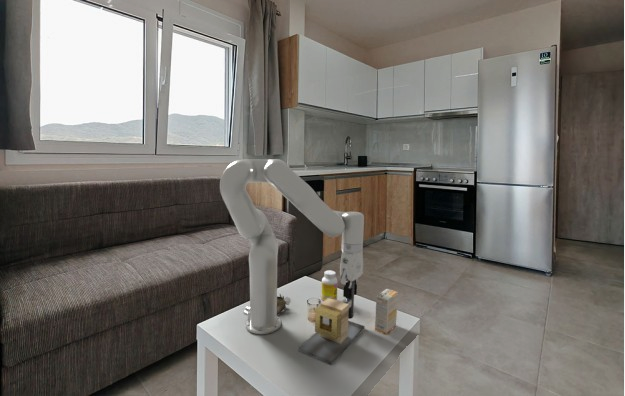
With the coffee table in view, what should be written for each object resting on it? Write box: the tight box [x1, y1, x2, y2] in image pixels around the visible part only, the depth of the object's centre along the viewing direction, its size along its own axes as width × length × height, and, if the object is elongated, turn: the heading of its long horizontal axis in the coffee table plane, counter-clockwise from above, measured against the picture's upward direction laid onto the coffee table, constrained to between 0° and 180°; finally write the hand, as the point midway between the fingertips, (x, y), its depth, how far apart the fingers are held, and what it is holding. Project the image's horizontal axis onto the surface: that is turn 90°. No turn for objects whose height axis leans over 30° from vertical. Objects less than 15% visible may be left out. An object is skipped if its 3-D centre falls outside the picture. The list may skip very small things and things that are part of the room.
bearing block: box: [298, 298, 365, 365], centre depth 108 cm, size 12×24×13 cm, turn 148°
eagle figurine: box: [277, 293, 292, 316], centre depth 127 cm, size 8×7×9 cm
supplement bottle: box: [320, 269, 339, 303], centre depth 135 cm, size 7×7×13 cm
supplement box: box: [374, 288, 399, 335], centre depth 116 cm, size 8×5×13 cm, turn 141°
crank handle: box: [323, 280, 355, 325], centre depth 110 cm, size 3×18×14 cm, turn 148°
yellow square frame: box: [314, 304, 342, 340], centre depth 104 cm, size 8×3×8 cm, turn 58°
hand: (349, 295), depth 117 cm, fingers closed on crank handle, 3 cm apart
